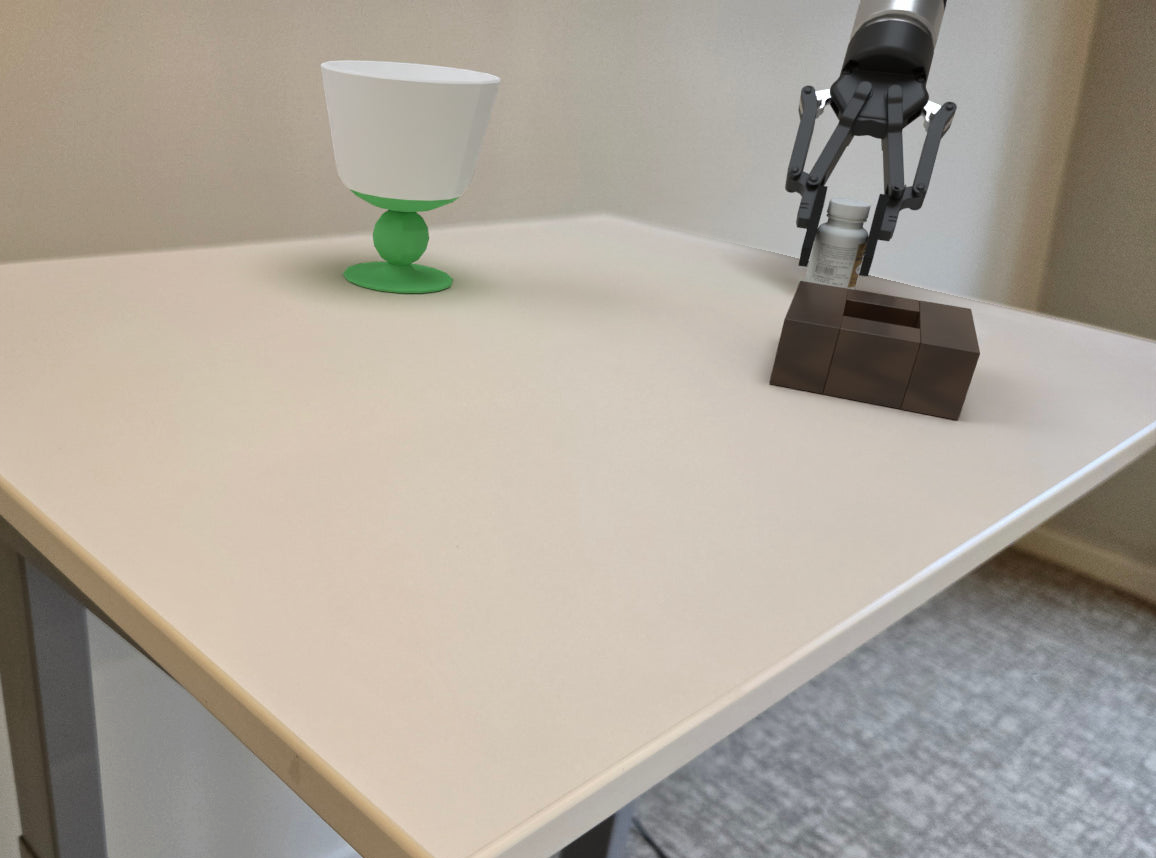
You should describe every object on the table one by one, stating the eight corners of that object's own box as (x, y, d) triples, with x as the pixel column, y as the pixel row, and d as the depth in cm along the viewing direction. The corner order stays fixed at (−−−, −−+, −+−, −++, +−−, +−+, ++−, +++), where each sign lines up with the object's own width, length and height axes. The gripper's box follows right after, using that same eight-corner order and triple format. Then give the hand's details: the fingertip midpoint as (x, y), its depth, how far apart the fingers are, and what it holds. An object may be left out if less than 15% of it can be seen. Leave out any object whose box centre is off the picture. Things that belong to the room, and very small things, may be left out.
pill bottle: (860, 297, 96) (884, 208, 92) (812, 294, 95) (834, 204, 92) (843, 285, 99) (866, 199, 96) (797, 281, 99) (817, 195, 96)
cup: (393, 250, 97) (405, 59, 90) (514, 285, 90) (537, 80, 82) (279, 271, 88) (282, 60, 80) (403, 312, 80) (419, 83, 73)
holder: (952, 369, 79) (971, 308, 77) (958, 420, 69) (980, 352, 67) (785, 338, 82) (800, 280, 80) (768, 384, 72) (784, 318, 70)
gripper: (982, 87, 100) (932, 303, 94) (789, 67, 105) (730, 270, 99) (1005, 25, 93) (953, 253, 87) (798, 6, 98) (735, 220, 92)
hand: (835, 261), depth 93 cm, fingers closed on pill bottle, 4 cm apart
